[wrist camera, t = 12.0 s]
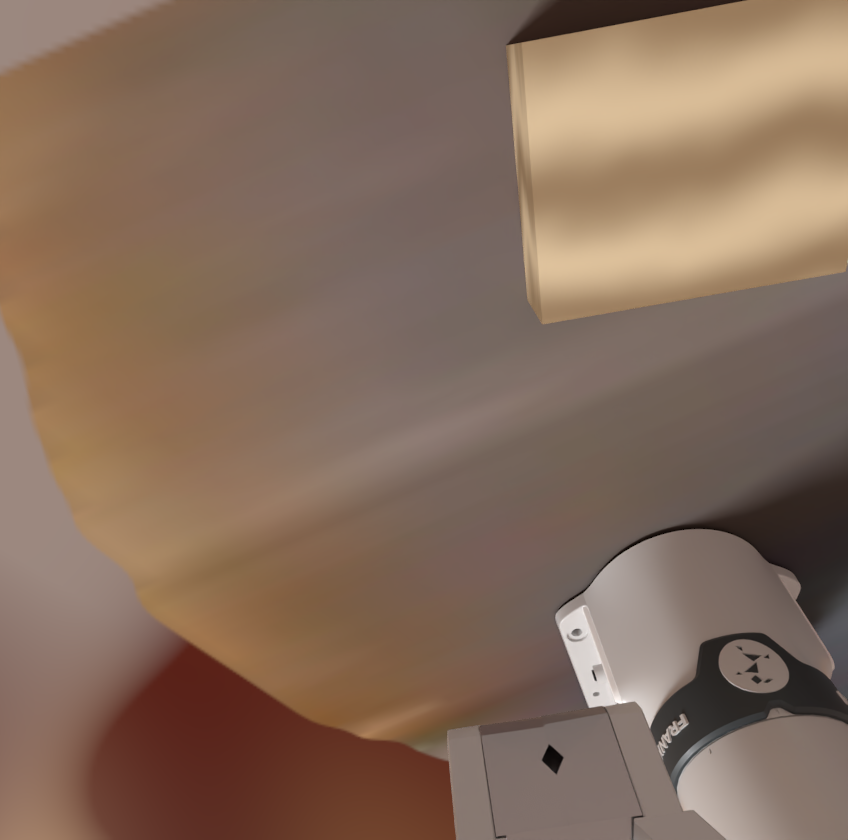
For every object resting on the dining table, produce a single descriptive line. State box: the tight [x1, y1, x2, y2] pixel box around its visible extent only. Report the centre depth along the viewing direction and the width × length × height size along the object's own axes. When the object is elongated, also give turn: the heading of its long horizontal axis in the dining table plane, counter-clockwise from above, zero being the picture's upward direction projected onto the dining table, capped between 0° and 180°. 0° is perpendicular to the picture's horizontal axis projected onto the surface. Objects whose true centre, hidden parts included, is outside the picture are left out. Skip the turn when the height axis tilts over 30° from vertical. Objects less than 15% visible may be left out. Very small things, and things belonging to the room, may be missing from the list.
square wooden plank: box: [506, 0, 848, 324], centre depth 32 cm, size 13×16×4 cm
